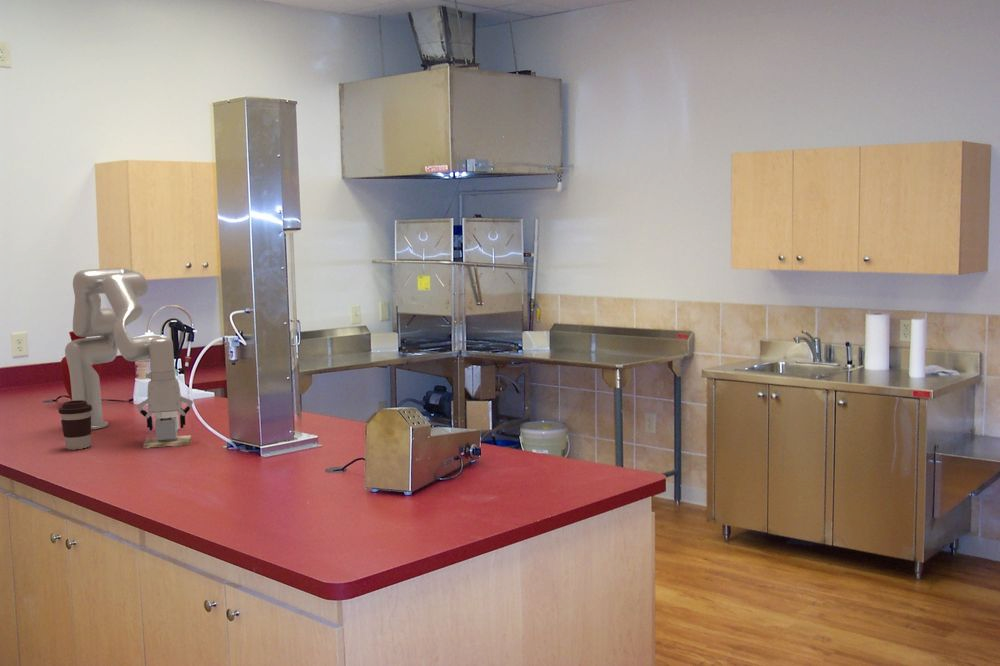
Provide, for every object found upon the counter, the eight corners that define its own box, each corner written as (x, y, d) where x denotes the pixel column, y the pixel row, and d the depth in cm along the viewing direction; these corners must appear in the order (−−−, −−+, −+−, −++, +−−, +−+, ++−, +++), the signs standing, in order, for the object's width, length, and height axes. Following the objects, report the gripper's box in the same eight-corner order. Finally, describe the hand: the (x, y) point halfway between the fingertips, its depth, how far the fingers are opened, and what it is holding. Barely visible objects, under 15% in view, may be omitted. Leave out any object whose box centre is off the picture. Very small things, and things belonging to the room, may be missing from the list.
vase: (66, 411, 402) (60, 334, 398) (61, 405, 414) (55, 331, 411) (106, 406, 409) (100, 331, 406) (100, 401, 422) (94, 328, 418)
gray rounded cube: (156, 440, 331) (155, 421, 331) (158, 436, 337) (156, 418, 337) (176, 438, 333) (174, 420, 332) (177, 435, 339) (176, 416, 338)
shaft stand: (143, 448, 329) (141, 424, 328) (146, 442, 338) (144, 418, 338) (189, 445, 332) (187, 420, 331) (191, 438, 342) (189, 414, 341)
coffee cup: (83, 451, 328) (79, 404, 326) (55, 451, 330) (51, 404, 328) (101, 444, 338) (97, 399, 336) (73, 444, 340) (70, 399, 338)
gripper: (133, 379, 327) (137, 433, 329) (190, 376, 331) (193, 428, 333) (136, 376, 334) (139, 428, 336) (191, 372, 338) (195, 424, 340)
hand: (166, 428), depth 335 cm, fingers open, 9 cm apart
